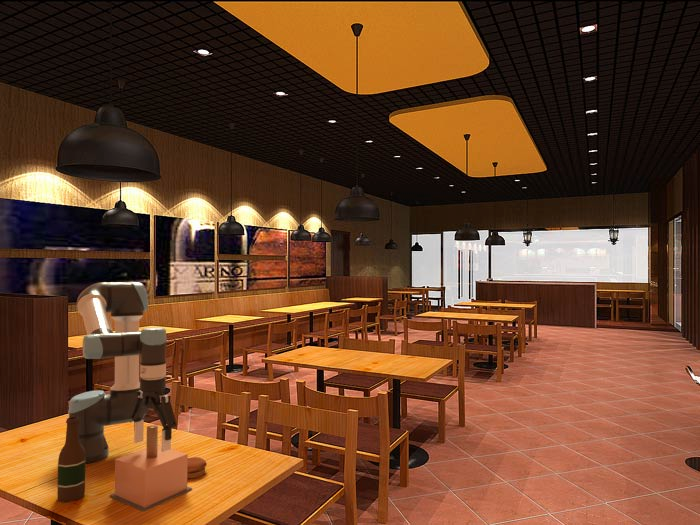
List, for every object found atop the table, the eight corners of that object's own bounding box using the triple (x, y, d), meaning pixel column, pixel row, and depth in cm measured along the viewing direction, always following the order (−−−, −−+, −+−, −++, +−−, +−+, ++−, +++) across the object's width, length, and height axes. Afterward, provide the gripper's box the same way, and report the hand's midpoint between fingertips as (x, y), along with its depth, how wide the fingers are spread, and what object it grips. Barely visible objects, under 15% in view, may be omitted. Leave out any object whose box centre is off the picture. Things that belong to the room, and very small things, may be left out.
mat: (109, 496, 150) (109, 494, 150) (157, 477, 164) (157, 475, 164) (143, 511, 140) (143, 509, 140) (191, 489, 155) (191, 488, 155)
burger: (200, 479, 162) (200, 465, 163) (172, 479, 163) (172, 465, 163) (209, 468, 172) (210, 454, 172) (183, 467, 173) (183, 454, 173)
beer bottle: (64, 491, 153) (65, 414, 153) (90, 490, 153) (91, 413, 154) (51, 503, 145) (52, 422, 146) (78, 502, 146) (80, 421, 146)
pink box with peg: (114, 494, 150) (115, 428, 150) (157, 477, 163) (158, 416, 163) (144, 507, 142) (145, 438, 142) (187, 488, 154) (187, 424, 155)
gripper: (118, 375, 156) (117, 442, 156) (168, 384, 143) (167, 457, 142) (139, 371, 163) (138, 435, 162) (189, 380, 149) (188, 450, 149)
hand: (152, 446), depth 152 cm, fingers open, 13 cm apart
